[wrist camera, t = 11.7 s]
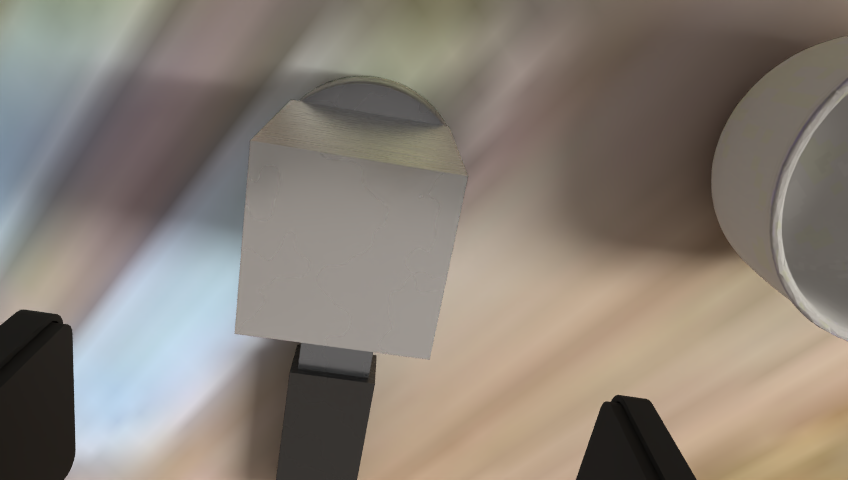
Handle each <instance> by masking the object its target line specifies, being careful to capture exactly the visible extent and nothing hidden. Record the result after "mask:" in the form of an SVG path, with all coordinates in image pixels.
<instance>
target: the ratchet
mask: <svg viewBox="0 0 848 480" xmlns="http://www.w3.org/2000/svg"><path fill="white" fill-rule="evenodd" d="M299 101H303V102H309V103H314V104H320V105H326V106H332V107H338V108H344V109H349V110H355V111H361V112H367V113H373V114H379V115H384V116H390V117H396V118H402V119H408V120H414V121H420V122H425V123H431V124H437V125H443V126H447V125H446V123H445V122H444V120H443V118H442V117H441V116H440V114H439V113H438V112H437V110H436V109H435V108H434V107H433V106H432V105H431V104H430V103H429V102H428V101H427V100H426V99H425V98H423V97H422V96H421V95H419V94H418V93H417V92H415V91H413V90H412V89H410V88H408V87H406V86H405V85H402V84H400V83H397V82H395V81H392V80H388V79H384V78H380V77H371V76H353V77H346V78H341V79H337V80H334V81H330V82H328V83H326V84H323V85H321V86H319V87H317V88H316V89H314V90H312V91H311V92H309V93H308V94H306V95H305V96H304V97H303V98H302V99H300V100H299ZM375 372H376V355H373V352H368V351H360V350H353V349H345V348H338V347H330V346H323V345H315V344H308V343H301V345H297V349H296V352H295V356H294V359H293V363H292V367H291V370H290V375H289V383H288V391H287V398H286V406H285V414H284V422H283V430H282V438H281V446H280V453H279V461H278V469H277V477H276V480H357V477H358V472H359V466H360V461H361V455H362V450H363V445H364V439H365V434H366V428H367V423H368V418H369V412H370V407H371V401H372V396H373V391H374V385H375Z"/></svg>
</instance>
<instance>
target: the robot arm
mask: <svg viewBox="0 0 848 480" xmlns="http://www.w3.org/2000/svg"><path fill="white" fill-rule="evenodd" d="M74 457H75V414H74V376H73V337H72V329H71V326H69V325H67V324H63V320H62V318H61V316H59V315H58V314H51V313H45V312H38V311H31V310H20V311H18V312H16V313H15V314H14V315H12V316H11V317H10V318H9V319H8V320H6V321H5V322H4V323H3V324H2V325H0V480H64V479H65V478H66V476H67V475H68V473H69V471H70V469H71V467H72V464H73V461H74ZM576 480H696V478H695V476H694V474H693V473H692V471H691V469H690V468H689V466H688V464H687V462H686V461H685V459H684V457H683V456H682V454H681V452H680V450H679V449H678V447H677V445H676V444H675V442H674V440H673V439H672V437H671V435H670V433H669V432H668V430H667V428H666V427H665V425H664V423H663V421H662V420H661V418H660V416H659V415H658V413H657V411H656V409H655V408H654V406H653V404H652V403H651V402H650V401H649V400H647V399H643V398H636V397H629V396H622V395H616V396H615V397H614V398H613V399H612V401H611V402H607V401H606V402H604V403H603V404H602V406H601V408H600V411H599V414H598V417H597V420H596V423H595V426H594V429H593V432H592V435H591V437H590V440H589V443H588V446H587V449H586V452H585V455H584V458H583V461H582V464H581V467H580V469H579V472H578V475H577V478H576Z"/></svg>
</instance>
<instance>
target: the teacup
mask: <svg viewBox="0 0 848 480" xmlns="http://www.w3.org/2000/svg"><path fill="white" fill-rule="evenodd" d="M711 192H712V199H713V204H714V209H715V213H716V216H717V219H718V222H719V224H720V227H721V229H722V231H723V233H724V235H725V237H726V238H727V240H728V242H729V243H730V244H731V246H732V247H733V249H734V250H735V251H736V252H737V254H738V255H739V256H740V257H741V258H742V259H743V260H744V262H745V263H747V264H748V265H749V266H750V267H751V268H752V269H753V270H754V271H755V272H756V273H757V274H758V275H759V276H760V277H762V278H763V279H764V280H765V281H766V282H768V283H769V284H770V285H771V286H772V287H774V288H775V289H776V290H777V291H779V292H780V293H781V294H783V295H784V296H785V297H786V298H788V299H789V300H790V301H791V302H792V303H793V304H794V305H795V307H796V308H797V309H798V310H799V311H800V312H801V313H802V314H803V315H804V316H805V317H806V318H807V319H809V320H810V321H811V322H813V323H814V324H815V325H817V326H818V327H820V328H822V329H823V330H825V331H827V332H829V333H831V334H833V335H835V336H836V337H838V338H842V339H844V340H846V341H848V36H846V37H841V38H836V39H833V40H830V41H826V42H823V43H820V44H817V45H815V46H813V47H810V48H808V49H805V50H803V51H801V52H799V53H797V54H795V55H793V56H792V57H790V58H788V59H787V60H785V61H784V62H782V63H780V64H779V65H777V66H776V67H775V68H773V69H772V70H771V71H770V72H768V73H767V74H766V75H765V76H763V77H762V78H761V79H760V80H759V81H758V82H757V83H756V84H755V85H754V86H753V87H752V88H751V89H750V90H749V91H748V93H747V94H746V95H745V96H744V97H743V98H742V100H741V101H740V102H739V103H738V105H737V106H736V108H735V109H734V111H733V112H732V114H731V116H730V117H729V119H728V121H727V123H726V125H725V127H724V129H723V131H722V133H721V135H720V138H719V141H718V144H717V147H716V150H715V155H714V159H713V165H712V177H711Z"/></svg>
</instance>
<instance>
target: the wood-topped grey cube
mask: <svg viewBox="0 0 848 480" xmlns="http://www.w3.org/2000/svg"><path fill="white" fill-rule="evenodd" d="M467 179H468V175H467V172H466V170H465V167H464V164H463V162H462V159H461V156H460V154H459V151H458V149H457V146H456V143H455V141H454V138H453V135H452V133H451V130H450V128H449V126H443V125H437V124H431V123H425V122H420V121H414V120H408V119H402V118H396V117H390V116H384V115H379V114H373V113H367V112H361V111H355V110H349V109H344V108H338V107H332V106H326V105H320V104H314V103H309V102H303V101H297V100H290V101H289V102H288V103H287V104H286V105H285V106H284V107H283V108H282V109H281V110H280V111H279V112H278V113H277V114H276V115H275V116H274V117H273V118H272V119H271V120H270V121H269V122H268V123H267V124H266V125H265V126H264V127H263V128H262V129H261V130H260V131H259V132H258V133H257V134H256V135H255V136H254V137H253V138H252V139H251V140H250V149H249V161H248V174H247V186H246V199H245V211H244V224H243V236H242V249H241V261H240V274H239V286H238V299H237V311H236V324H235V334H240V335H248V336H255V337H263V338H270V339H278V340H285V341H293V342H300V343H308V344H315V345H323V346H330V347H338V348H345V349H353V350H360V351H368V352H375V353H383V354H390V355H398V356H405V357H413V358H420V359H428V360H430V355H431V350H432V346H433V341H434V336H435V331H436V327H437V322H438V317H439V312H440V307H441V303H442V298H443V293H444V288H445V284H446V279H447V274H448V269H449V265H450V260H451V255H452V250H453V246H454V241H455V236H456V231H457V227H458V222H459V217H460V212H461V207H462V203H463V198H464V193H465V188H466V184H467Z"/></svg>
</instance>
